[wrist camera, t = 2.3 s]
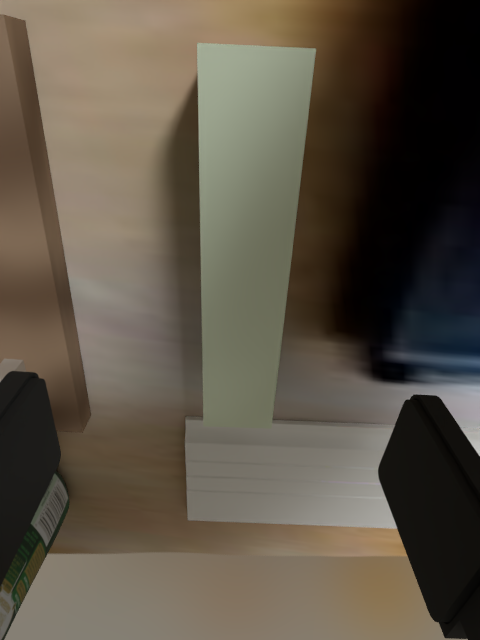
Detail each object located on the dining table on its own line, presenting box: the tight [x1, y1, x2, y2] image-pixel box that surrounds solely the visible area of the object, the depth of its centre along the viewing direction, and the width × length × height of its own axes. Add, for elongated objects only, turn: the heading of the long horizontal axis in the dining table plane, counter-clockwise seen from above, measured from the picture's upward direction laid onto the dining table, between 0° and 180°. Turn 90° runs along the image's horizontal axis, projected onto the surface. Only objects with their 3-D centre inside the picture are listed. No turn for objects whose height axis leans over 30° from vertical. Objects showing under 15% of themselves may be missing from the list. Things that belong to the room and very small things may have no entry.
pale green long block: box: [197, 43, 316, 429], centre depth 17 cm, size 16×4×4 cm, turn 178°
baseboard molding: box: [185, 416, 480, 528], centre depth 27 cm, size 31×3×12 cm
